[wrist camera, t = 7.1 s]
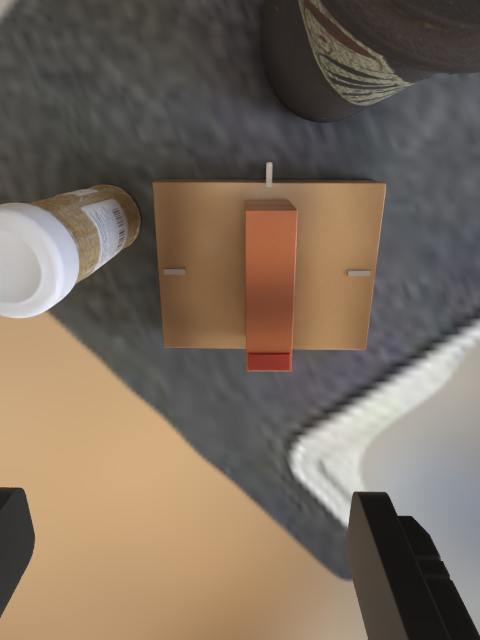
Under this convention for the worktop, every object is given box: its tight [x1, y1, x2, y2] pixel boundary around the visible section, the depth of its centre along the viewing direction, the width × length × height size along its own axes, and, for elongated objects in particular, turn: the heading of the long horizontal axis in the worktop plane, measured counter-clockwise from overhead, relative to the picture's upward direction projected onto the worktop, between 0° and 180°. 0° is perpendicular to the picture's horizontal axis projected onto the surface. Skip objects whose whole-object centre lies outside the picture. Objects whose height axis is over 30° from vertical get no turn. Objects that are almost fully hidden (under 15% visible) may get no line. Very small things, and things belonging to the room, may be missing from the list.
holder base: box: [152, 163, 386, 350], centre depth 28 cm, size 14×13×3 cm
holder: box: [245, 200, 298, 371], centre depth 24 cm, size 9×3×5 cm, turn 1°
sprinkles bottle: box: [0, 184, 141, 318], centre depth 23 cm, size 5×5×14 cm
